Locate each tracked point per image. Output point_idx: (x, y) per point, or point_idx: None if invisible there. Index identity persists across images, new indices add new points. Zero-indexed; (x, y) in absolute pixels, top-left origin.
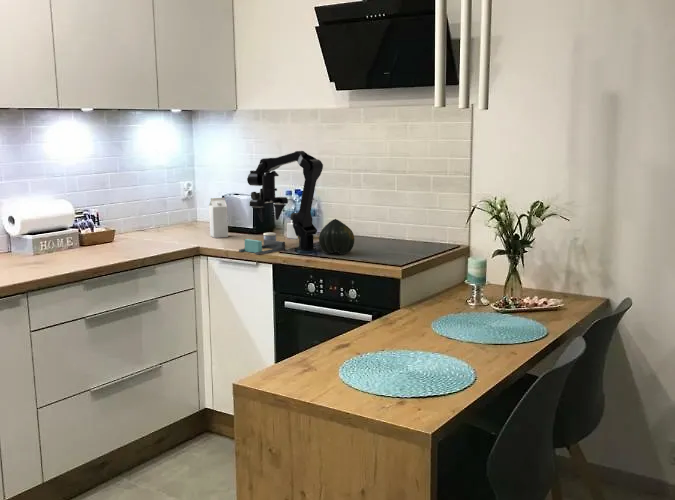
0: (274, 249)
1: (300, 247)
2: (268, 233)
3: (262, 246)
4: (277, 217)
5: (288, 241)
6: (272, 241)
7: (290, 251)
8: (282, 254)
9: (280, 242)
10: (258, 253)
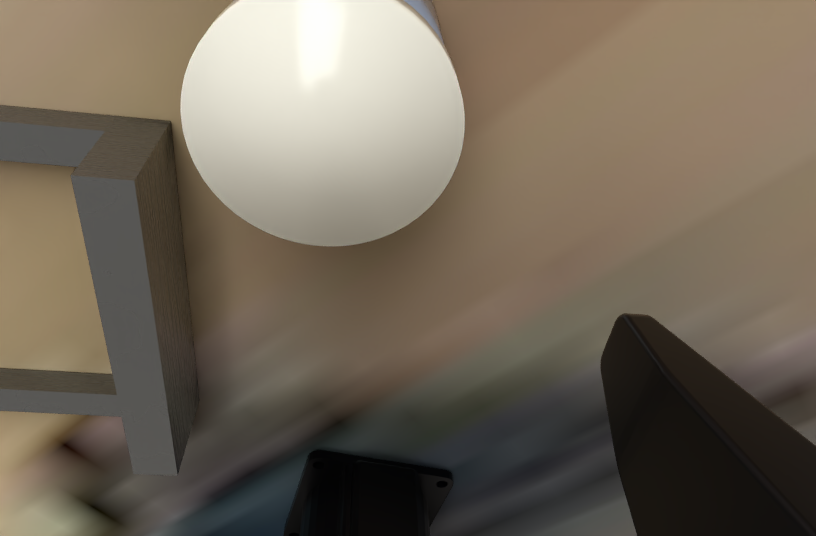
0: (23, 411)
1: (307, 502)
2: (304, 113)
3: (44, 160)
4: (621, 422)
5: (793, 56)
6: (109, 339)
7: None
8: (15, 501)
9: (130, 449)
10: None
